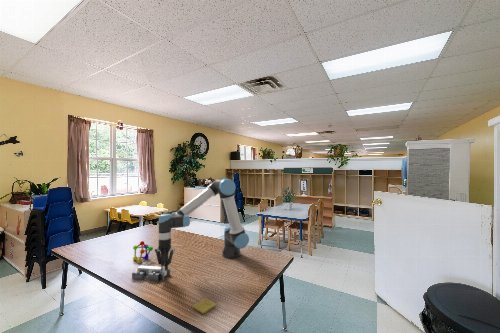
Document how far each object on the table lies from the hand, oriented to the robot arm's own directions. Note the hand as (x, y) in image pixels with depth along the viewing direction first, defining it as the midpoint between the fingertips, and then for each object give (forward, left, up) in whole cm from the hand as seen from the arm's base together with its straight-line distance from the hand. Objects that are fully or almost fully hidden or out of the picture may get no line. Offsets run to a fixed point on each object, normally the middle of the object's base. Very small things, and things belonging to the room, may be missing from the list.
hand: (164, 275), depth 141 cm
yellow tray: (-37, +26, -2) cm, 45 cm away
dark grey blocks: (+9, 0, -2) cm, 9 cm away
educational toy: (+32, -24, -2) cm, 40 cm away
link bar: (+10, 0, -2) cm, 10 cm away
